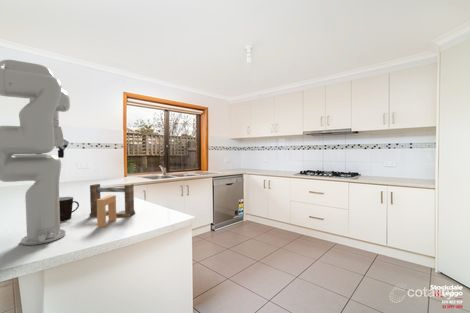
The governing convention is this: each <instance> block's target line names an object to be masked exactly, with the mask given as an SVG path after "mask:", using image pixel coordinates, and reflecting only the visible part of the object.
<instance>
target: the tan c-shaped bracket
mask: <svg viewBox="0 0 470 313" xmlns="http://www.w3.org/2000/svg"><path fill="white" fill-rule="evenodd" d="M106 206H107V209H106ZM106 210H108V215H106ZM116 213H117V195H113V194H110V195H106V196H104V197H100V199H97V217H96V218H97V219H96V220H97V222H96V223H97V228H106V226H107V219H108V222H116V221H117V217H116ZM107 216H108V218H107Z"/></svg>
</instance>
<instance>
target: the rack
mask: <svg viewBox="0 0 470 313" xmlns="http://www.w3.org/2000/svg"><path fill="white" fill-rule="evenodd" d="M101 193H124V210H119V211H118V212H116V218H130V217H131V216H134V215H135V214H136V210H135V192H134V183H128V184H124V186H123V187H121V186H119V187H118V186H117V187H112V186H105V187H102V186H101V184H99V183H95V184H90V185H89V195H90V196H89V197H90V199H89V201H90V203H89V204H90V213H89V216H88V217H90V218H91V217H92V218H93V217H94V218H97V199H100V198H101ZM106 216H108V209H106Z"/></svg>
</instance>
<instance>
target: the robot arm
mask: <svg viewBox="0 0 470 313" xmlns="http://www.w3.org/2000/svg"><path fill="white" fill-rule="evenodd" d="M0 96H2V97H7V98H8V97H9V98H19V99H29V102H28V103H26V104H25V105H24V107H22V108H21V109H20V111H19V112H18V117H19V120H18V121H19V125H0V182H3V183H5V182H6V183H7V182H8V183H12V182H13V183H14V182H15V183H16V182H31V181H33V182H34V183H33V184H32V185H30V186H29V188H28V189H27V190H26V192H25V196H24V197H25V200H24V201H25V218H26V219H25V220H26V235H25V236H24V237H23V238H21V240H20V243H21V244H22V245H23V246H24V245H25V246H36V245H42V244H47V243H52V242H54V241H57V240H60V239H61V238H63V237H64V236H65V235H66V230H65V229H61V221H60V206H59V197H60V176H61V170H62V161H61V159H60V158H63V159H64V157H65V156H64V155H65V150H66V148H67V147H68V146H69V144H70V141H68V140H66V139H64V134H63V129H62V126H60V124H59V122H60V119H59V116H60V115H59V112H62V113H65V112H68V111H69V110H70V106H71V102H70V96H69V94H68V92H67V91H66V90H65V89H63V88H62V82H61V81H60V80H59V79H58V78H55V77H54V73H53V72H52V71H51V70H50V69H49V68H48V67H46V66H45V65H42V64H38V63H34V62H33V63H32V62H27V61H21V60H15V59H4V60H3V59H2V60H0ZM54 147H56V148H57V149H58V150H57V156H56V155H54V154H49V153H51V152H52V151H53V150H54Z"/></svg>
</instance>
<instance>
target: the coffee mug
mask: <svg viewBox="0 0 470 313" xmlns="http://www.w3.org/2000/svg"><path fill="white" fill-rule="evenodd" d="M74 203H76V208H75V209H73V206H74ZM59 206H60V222H65V221H70V220H71V219H72V213H74V212H76V211H77V210H78V209H79V207H80V204H79V202H78V201H76V200H74V197H73V196H61V197H60V196H59Z"/></svg>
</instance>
